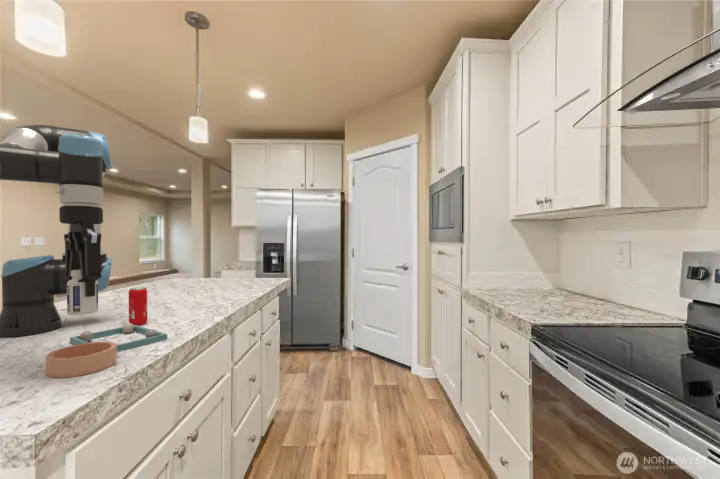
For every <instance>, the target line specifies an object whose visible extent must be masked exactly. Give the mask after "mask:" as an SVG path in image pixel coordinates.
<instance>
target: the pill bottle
mask: <svg viewBox="0 0 720 479" xmlns="http://www.w3.org/2000/svg"><path fill="white" fill-rule="evenodd" d="M71 277H72V280H70V281H68V282H67V294H66V311H67V315H68V316H83V315H84V316H85V315H90V314H94V313H95V314H96V313H97V312H98V311H99V291H98V281H96V303H97V310H96V311H89V312H83V313H81V312H80V282H78V280H79V279H82V276H81V270H71Z"/></svg>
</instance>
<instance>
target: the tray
mask: <svg viewBox="0 0 720 479" xmlns="http://www.w3.org/2000/svg"><path fill="white" fill-rule="evenodd" d="M122 327H123V326H120V327H116V328H111V329H106V330H101V331H95V332H92V333H93V338H95V339H99V338H104V337H109V336H113V335H117V334H116V333H118V334H121V333H120V332H123V330H122ZM151 329H152V328H146V327H143V326H141V325H139V326H136V325H134V330H133V331H132V332H135V331H136V332H135V333H138V332H139V333H138V334H141V333H142V335H145V334H146V332H147V331H149V330H151ZM156 331H157V330H156ZM123 333H124V332H123ZM157 333H158V335H157V336H153V337H149V338H146V337H144V338H141V339H136V340H133V341H129V342H124V343H121V344H117V351H119V352H122V351H121V350H123V351H126V349H127V350H129V349H130V348H131V349H134V347H135V348H138V346H139V347H143V346H145V345H150V344H154V343H158V342H163V341H165V340H168V333H165V332H161V331H159V330H158V331H157ZM112 334H113V335H112ZM108 335H109V336H108ZM103 336H104V337H103ZM98 337H99V338H98ZM93 338H92V340H94V339H93ZM83 343H90V341H89V342H87V341H84V340H82V339H80V335H75V336H70V337H69V344H72V345H78V344H83Z"/></svg>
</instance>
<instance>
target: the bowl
mask: <svg viewBox="0 0 720 479" xmlns="http://www.w3.org/2000/svg"><path fill="white" fill-rule="evenodd" d="M117 345H118V343H117V342H114V341H93V342H89V343H83V344H78V345H74V344H72V345H70V346H69V345H68V346H65V347H61V348H59V349H56V350H53V351H50V352H49V353H48V354H47V355H45V372H46V376H48V377H49V378H54V379H65V378H73V377H80V376H81V377H82V376H85V375H91V374H94V373H97V371H98V372H101V371H104V370H106V369H108V368H110V366H111V367H112V366H114V365H115V364H117V359H118V352H117ZM113 364H114V365H113ZM103 369H104V370H103ZM100 370H101V371H100Z"/></svg>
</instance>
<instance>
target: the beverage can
mask: <svg viewBox="0 0 720 479" xmlns="http://www.w3.org/2000/svg"><path fill="white" fill-rule="evenodd" d="M147 322H148V290H147V287H133V288H129V289H128V323H131V324H133V325H139V326H142V325H141V324H144V325H146V324H147ZM145 323H146V324H145Z"/></svg>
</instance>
